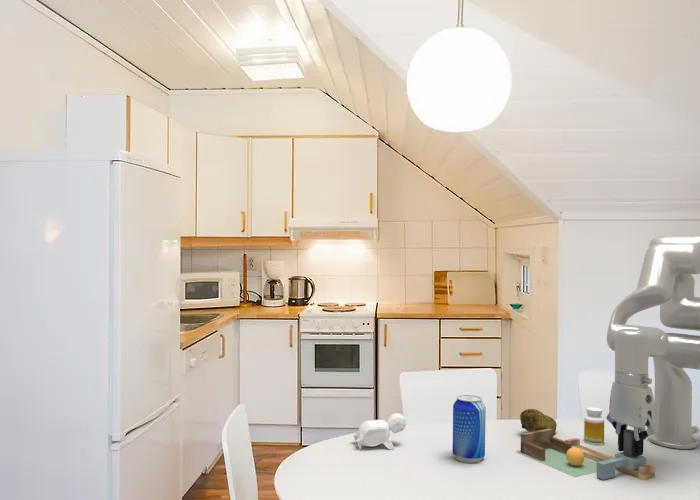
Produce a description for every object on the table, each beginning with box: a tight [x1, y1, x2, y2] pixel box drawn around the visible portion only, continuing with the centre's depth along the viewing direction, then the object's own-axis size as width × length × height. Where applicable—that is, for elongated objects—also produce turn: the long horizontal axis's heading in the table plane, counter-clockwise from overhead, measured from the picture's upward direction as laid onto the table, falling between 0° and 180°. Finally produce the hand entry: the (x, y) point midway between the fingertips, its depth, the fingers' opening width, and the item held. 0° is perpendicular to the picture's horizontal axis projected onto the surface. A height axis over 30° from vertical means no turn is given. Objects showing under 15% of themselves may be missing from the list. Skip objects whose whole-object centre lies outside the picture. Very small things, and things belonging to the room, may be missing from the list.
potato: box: [519, 408, 558, 435], centre depth 174 cm, size 8×13×8 cm, turn 103°
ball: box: [566, 448, 585, 466], centre depth 148 cm, size 4×4×4 cm
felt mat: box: [515, 448, 597, 478], centre depth 152 cm, size 13×20×1 cm, turn 28°
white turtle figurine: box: [352, 412, 407, 451], centre depth 163 cm, size 9×8×15 cm
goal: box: [520, 428, 572, 461], centre depth 157 cm, size 11×8×5 cm
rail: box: [564, 437, 656, 481], centre depth 150 cm, size 4×23×3 cm, turn 28°
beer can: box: [452, 394, 487, 464], centre depth 153 cm, size 8×8×16 cm
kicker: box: [596, 428, 647, 481], centre depth 143 cm, size 14×5×10 cm, turn 118°
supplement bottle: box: [583, 406, 605, 446], centre depth 167 cm, size 5×5×10 cm
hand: (630, 452), depth 145 cm, fingers closed on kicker, 3 cm apart
